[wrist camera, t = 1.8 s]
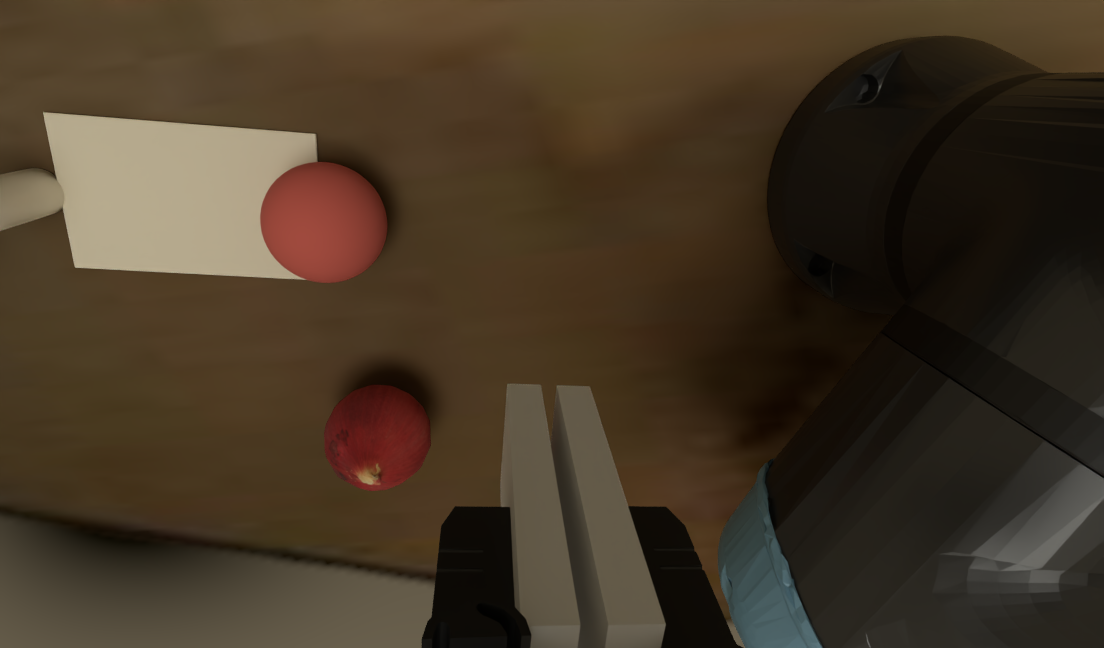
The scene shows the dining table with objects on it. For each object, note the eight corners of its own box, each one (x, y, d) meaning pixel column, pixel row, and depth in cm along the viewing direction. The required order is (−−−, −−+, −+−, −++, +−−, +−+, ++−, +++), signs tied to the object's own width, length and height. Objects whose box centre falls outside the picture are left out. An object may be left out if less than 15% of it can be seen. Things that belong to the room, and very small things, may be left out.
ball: (394, 159, 33) (375, 176, 27) (395, 266, 35) (377, 302, 30) (278, 150, 32) (234, 166, 27) (286, 260, 35) (247, 296, 29)
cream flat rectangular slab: (316, 133, 32) (315, 134, 32) (324, 279, 35) (323, 280, 35) (45, 112, 31) (42, 112, 30) (77, 266, 34) (75, 267, 33)
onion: (365, 455, 40) (336, 542, 32) (323, 381, 38) (283, 456, 30) (449, 425, 40) (440, 506, 32) (412, 349, 37) (394, 417, 30)
